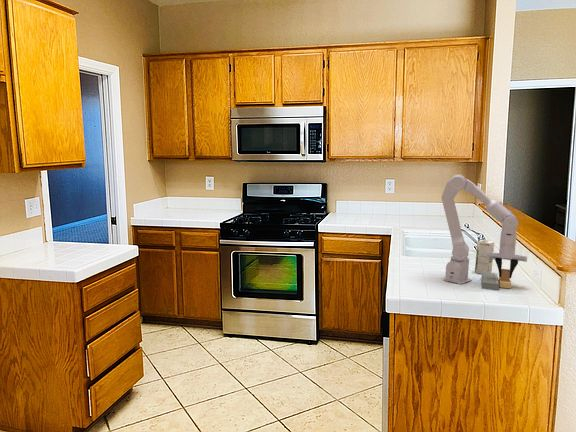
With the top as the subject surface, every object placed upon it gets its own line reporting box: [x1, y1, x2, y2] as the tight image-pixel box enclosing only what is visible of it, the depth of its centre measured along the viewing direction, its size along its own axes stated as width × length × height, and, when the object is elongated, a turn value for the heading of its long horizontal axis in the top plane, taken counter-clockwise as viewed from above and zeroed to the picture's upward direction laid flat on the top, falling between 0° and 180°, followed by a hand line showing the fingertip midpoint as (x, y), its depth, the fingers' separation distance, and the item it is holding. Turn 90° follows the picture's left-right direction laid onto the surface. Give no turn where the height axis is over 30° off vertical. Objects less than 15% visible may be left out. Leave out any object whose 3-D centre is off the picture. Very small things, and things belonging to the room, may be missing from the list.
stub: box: [498, 268, 512, 289], centre depth 189 cm, size 4×10×6 cm, turn 158°
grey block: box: [481, 272, 500, 291], centre depth 192 cm, size 6×18×3 cm, turn 158°
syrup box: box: [474, 239, 495, 275], centre depth 209 cm, size 6×6×14 cm
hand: (504, 277), depth 189 cm, fingers closed on stub, 3 cm apart
